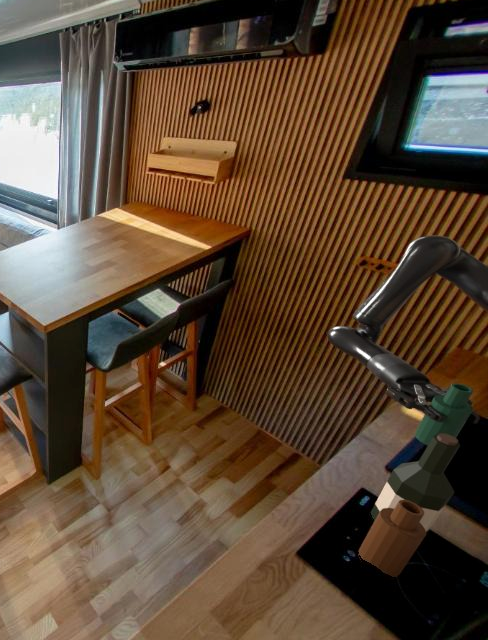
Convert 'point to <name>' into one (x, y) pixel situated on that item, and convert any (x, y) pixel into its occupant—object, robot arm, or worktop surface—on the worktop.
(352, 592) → the worktop surface
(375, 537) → the brown bottle
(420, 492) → the wine bottle
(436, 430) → the green bottle
